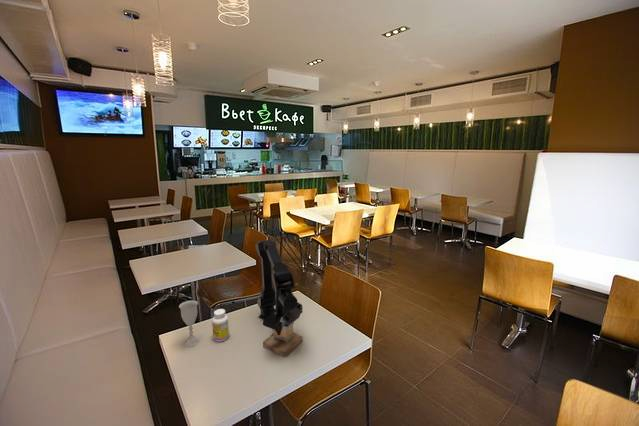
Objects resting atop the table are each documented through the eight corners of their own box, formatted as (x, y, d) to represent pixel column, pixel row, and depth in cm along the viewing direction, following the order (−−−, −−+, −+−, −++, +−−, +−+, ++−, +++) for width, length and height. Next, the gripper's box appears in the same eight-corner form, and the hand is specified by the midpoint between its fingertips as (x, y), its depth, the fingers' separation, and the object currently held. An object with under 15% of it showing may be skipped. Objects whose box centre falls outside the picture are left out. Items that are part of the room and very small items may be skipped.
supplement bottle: (210, 337, 131) (208, 311, 128) (224, 331, 136) (222, 305, 133) (218, 344, 126) (216, 317, 124) (231, 337, 131) (230, 311, 128)
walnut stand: (263, 347, 125) (262, 341, 125) (280, 332, 135) (280, 327, 135) (285, 357, 119) (285, 351, 119) (302, 341, 129) (302, 336, 129)
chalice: (183, 349, 123) (179, 310, 119) (182, 340, 129) (178, 302, 125) (201, 344, 126) (198, 306, 122) (200, 335, 132) (197, 299, 128)
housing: (286, 342, 122) (286, 327, 121) (271, 335, 126) (271, 321, 125) (293, 336, 126) (293, 321, 125) (279, 330, 130) (279, 315, 129)
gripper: (283, 314, 111) (284, 350, 114) (310, 294, 126) (310, 326, 130) (261, 306, 116) (262, 341, 120) (289, 287, 132) (290, 319, 135)
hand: (282, 331), depth 126 cm, fingers closed on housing, 5 cm apart
